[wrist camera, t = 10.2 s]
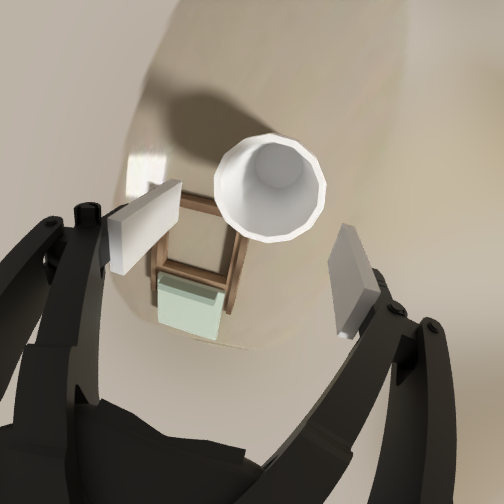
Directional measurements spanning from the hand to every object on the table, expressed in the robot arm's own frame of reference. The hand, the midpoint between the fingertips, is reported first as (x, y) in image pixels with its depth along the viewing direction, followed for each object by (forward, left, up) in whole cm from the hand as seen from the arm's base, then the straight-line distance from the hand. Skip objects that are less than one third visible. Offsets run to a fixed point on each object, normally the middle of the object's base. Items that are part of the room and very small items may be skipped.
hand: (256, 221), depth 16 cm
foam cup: (0, 0, -20) cm, 20 cm away
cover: (+25, -8, -17) cm, 32 cm away
